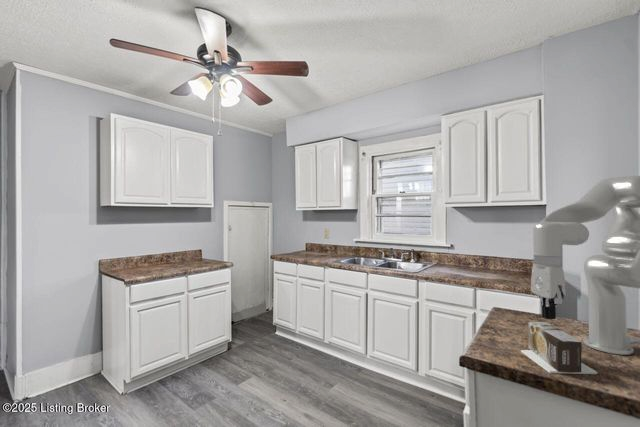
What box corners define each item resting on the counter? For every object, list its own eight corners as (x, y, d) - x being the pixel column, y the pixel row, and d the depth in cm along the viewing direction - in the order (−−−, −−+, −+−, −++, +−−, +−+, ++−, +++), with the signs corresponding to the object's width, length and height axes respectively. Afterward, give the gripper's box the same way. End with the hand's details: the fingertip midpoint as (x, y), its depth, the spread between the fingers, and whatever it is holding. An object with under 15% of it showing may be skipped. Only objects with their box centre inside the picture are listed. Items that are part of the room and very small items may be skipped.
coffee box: (527, 321, 104) (557, 339, 88) (547, 322, 103) (582, 340, 87) (527, 348, 104) (558, 372, 88) (548, 349, 103) (582, 373, 87)
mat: (561, 352, 102) (561, 350, 102) (597, 374, 88) (597, 372, 88) (521, 351, 103) (521, 349, 103) (549, 373, 89) (549, 370, 89)
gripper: (522, 258, 106) (522, 311, 106) (551, 264, 91) (552, 326, 91) (544, 258, 106) (545, 311, 106) (578, 264, 91) (579, 326, 91)
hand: (548, 318), depth 98 cm, fingers closed
